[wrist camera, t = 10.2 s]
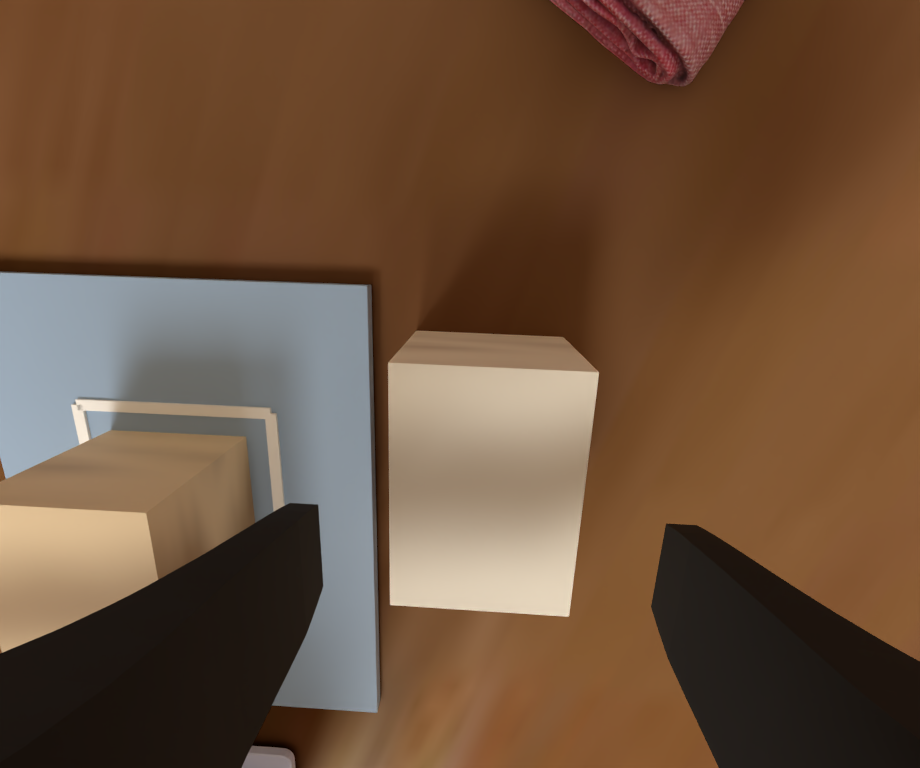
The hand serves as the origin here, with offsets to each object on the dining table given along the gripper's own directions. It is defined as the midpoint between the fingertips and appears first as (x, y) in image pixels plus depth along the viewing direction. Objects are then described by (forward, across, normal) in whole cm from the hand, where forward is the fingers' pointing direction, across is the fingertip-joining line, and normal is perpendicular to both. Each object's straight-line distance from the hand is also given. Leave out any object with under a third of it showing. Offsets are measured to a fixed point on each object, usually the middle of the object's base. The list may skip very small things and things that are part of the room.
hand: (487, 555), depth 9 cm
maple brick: (+6, +11, +4) cm, 13 cm away
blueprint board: (+7, +11, +4) cm, 14 cm away
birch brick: (+7, 0, 0) cm, 7 cm away
